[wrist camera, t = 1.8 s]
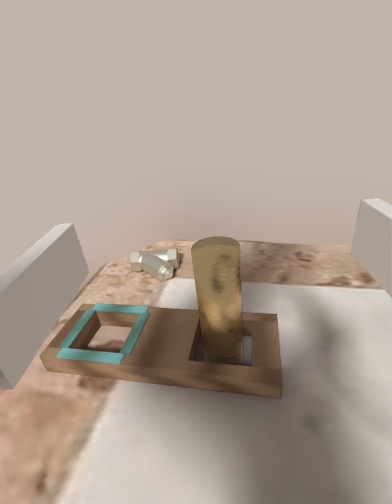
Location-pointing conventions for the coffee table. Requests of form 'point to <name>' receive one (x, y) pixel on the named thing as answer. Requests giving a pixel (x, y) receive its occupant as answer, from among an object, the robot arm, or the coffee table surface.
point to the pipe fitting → (156, 262)
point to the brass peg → (219, 298)
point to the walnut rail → (165, 350)
